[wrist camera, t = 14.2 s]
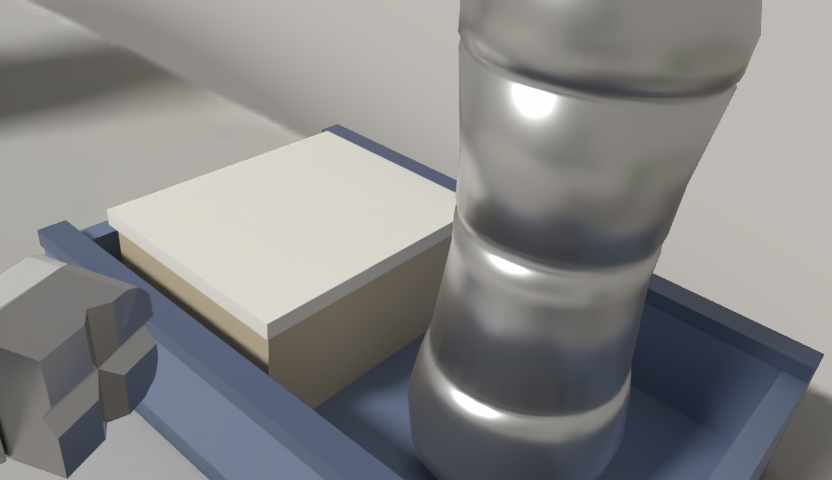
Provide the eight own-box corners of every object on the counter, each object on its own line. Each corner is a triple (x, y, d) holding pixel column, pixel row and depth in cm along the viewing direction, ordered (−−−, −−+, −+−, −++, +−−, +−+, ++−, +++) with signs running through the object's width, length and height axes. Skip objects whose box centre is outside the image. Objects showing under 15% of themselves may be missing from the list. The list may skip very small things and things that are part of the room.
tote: (61, 344, 28) (37, 230, 26) (333, 217, 38) (337, 124, 35) (559, 811, 17) (612, 696, 14) (768, 463, 27) (824, 354, 24)
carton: (123, 323, 28) (106, 209, 26) (324, 228, 35) (327, 130, 33) (269, 445, 24) (267, 324, 22) (465, 309, 31) (481, 205, 28)
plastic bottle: (386, 395, 27) (451, -297, 16) (567, 384, 28) (738, -262, 17) (420, 558, 21) (550, -317, 11) (641, 533, 23) (955, -264, 12)
